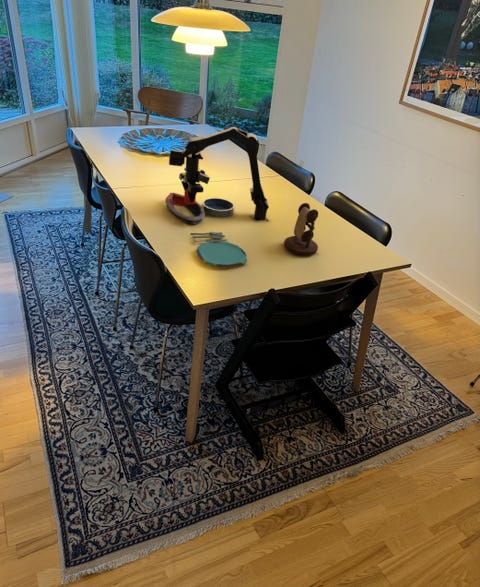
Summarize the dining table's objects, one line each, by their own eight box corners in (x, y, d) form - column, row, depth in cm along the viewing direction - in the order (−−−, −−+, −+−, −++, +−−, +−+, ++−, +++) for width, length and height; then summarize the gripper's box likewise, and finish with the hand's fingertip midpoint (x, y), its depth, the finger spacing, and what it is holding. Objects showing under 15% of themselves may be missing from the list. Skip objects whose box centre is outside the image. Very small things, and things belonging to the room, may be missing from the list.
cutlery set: (204, 271, 169) (204, 266, 168) (185, 235, 192) (185, 230, 191) (252, 268, 176) (253, 263, 175) (229, 233, 199) (229, 229, 197)
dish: (179, 228, 197) (180, 218, 194) (158, 201, 219) (158, 191, 216) (211, 226, 203) (212, 215, 200) (188, 199, 225) (188, 190, 223)
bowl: (238, 217, 215) (239, 209, 213) (208, 219, 209) (208, 211, 207) (226, 204, 226) (227, 197, 224) (197, 206, 220) (198, 198, 218)
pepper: (196, 204, 210) (197, 189, 206) (185, 204, 208) (186, 190, 204) (193, 199, 214) (194, 185, 210) (182, 200, 212) (183, 185, 208)
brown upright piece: (277, 242, 198) (285, 200, 187) (305, 240, 203) (315, 198, 193) (293, 258, 187) (303, 214, 176) (323, 255, 193) (334, 212, 182)
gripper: (215, 174, 198) (212, 207, 207) (202, 160, 212) (199, 192, 221) (191, 174, 194) (189, 208, 202) (179, 160, 208) (178, 192, 216)
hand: (189, 199), depth 211 cm, fingers closed on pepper, 5 cm apart
